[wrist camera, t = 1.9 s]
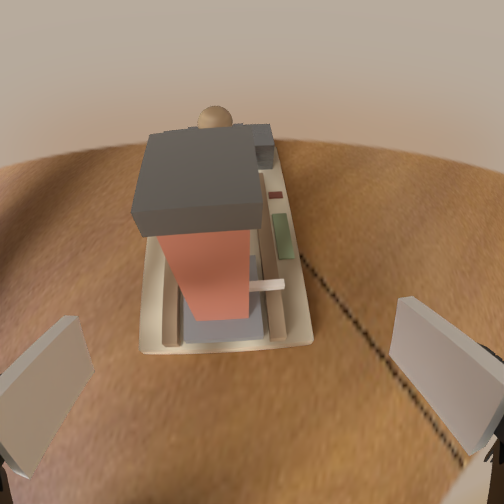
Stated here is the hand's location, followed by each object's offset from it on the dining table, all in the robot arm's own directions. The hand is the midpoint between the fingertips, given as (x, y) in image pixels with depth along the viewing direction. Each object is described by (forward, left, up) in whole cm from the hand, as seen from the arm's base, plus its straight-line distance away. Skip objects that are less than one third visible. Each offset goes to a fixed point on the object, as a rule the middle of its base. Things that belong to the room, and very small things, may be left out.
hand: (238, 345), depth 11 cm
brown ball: (-1, +24, -8) cm, 25 cm away
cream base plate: (-1, +14, -13) cm, 19 cm away
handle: (0, +7, -11) cm, 13 cm away
